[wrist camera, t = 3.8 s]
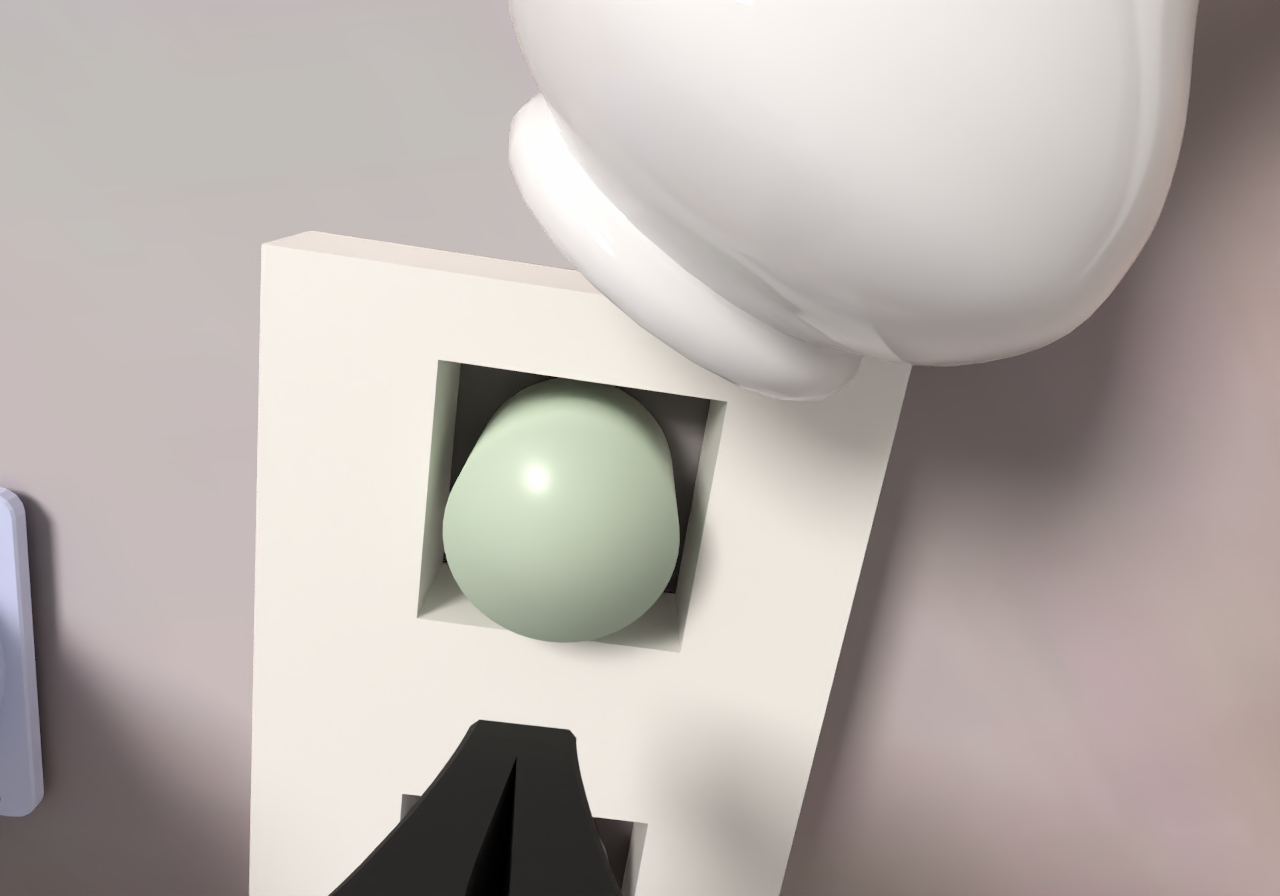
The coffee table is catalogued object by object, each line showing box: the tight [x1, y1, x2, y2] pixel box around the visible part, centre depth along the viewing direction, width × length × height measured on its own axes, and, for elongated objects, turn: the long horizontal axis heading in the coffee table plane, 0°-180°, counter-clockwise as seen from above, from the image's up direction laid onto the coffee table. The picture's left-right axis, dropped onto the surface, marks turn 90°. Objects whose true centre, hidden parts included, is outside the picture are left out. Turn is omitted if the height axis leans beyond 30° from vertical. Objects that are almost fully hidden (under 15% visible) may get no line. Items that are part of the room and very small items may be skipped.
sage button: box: [443, 378, 680, 643], centre depth 17 cm, size 4×4×3 cm
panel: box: [249, 231, 912, 896], centre depth 20 cm, size 11×26×2 cm, turn 171°
